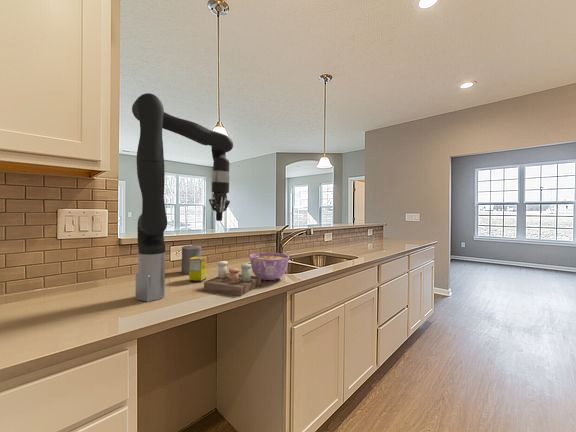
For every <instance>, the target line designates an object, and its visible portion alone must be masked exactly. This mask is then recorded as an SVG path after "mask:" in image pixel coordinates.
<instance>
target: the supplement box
mask: <svg viewBox="0 0 576 432" xmlns="http://www.w3.org/2000/svg"><path fill="white" fill-rule="evenodd" d="M188 278H189V279H188V280H189V282H190V283H191V282H194V283H195V282H196V283H202V282H205V281H206V279H207V256H201V257H193V258H190V259H189V277H188Z"/></svg>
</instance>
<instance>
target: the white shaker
mask: <svg viewBox="0 0 576 432" xmlns="http://www.w3.org/2000/svg"><path fill="white" fill-rule="evenodd" d="M228 263H229V262H228V261H227V260H226V261H225V260H220V261H217V265H218V266H217V267H218V269H217V277H218V278H220V279H224V278H227V273H228Z"/></svg>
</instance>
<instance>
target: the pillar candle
mask: <svg viewBox="0 0 576 432" xmlns="http://www.w3.org/2000/svg"><path fill="white" fill-rule="evenodd" d="M193 257H202V246H201V245H193V244H191V245H184V246H182V247H181V274H183V275H189V259H190V258H193Z"/></svg>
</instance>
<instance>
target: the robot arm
mask: <svg viewBox="0 0 576 432" xmlns="http://www.w3.org/2000/svg"><path fill="white" fill-rule="evenodd" d="M131 112H132V114H133V116H134V119H136V120H137V121H138V122H139V130H140V131H139V141H138V145H137V151H136V172H137V173H136V175H137V181H138V186H139V189H140V192H141V193H140V194H141V199H142V206H141V209H142V210H141V214H140V215H139V217H138V219H137V248H138V249H137V250H138V253H137V254H138V255H137V256H138V257H137V258H138V261H137V263H138V265H137V273H136V274H135V300H137V301H143V302H147V303H148V302H151V301H156V300H159V299H160V300H161V299H163V298H164V297H165V293H166V292H165V291H166V289H165V288H166V286H165V285H166V243H165V238H164V237H165V235H164V234H165V231H166V229H167V226H168V217H167V211H166V205H165V204H166V203H165V177H166V175H165V172H166V171H165V157H164V155H165V154H164V142H163V129H164V130H165V131H166V130H167V131H169V132H172V133H174V134H177V135H180V136H182V137H184V138H187V139H189V140H191V141H194V142H196V143H198V144H200V145H202V146H210V147H211V149H210V150H211V155H212V161H213V165H212V169H213V170H212V176H211V192H212V193H213V194H212V197H211V198H209V199H208V202H209V205H210V207H211V209H212V211H215V220H216V222H217V221H218V222H222V221H223V213H224V212H226V211H227V209H228V207H229V205H230V203H231V201H230V200H228V196H227V194H229V193H230V161H229V159H228V158H227V155H226V154H227V153H229V152H231V151H232V150H233V149H234V142H233V140H232V139H231V138H230V137H229V136H228V135H227V134H224V133H220V132H218V131H214V130H211V129H210V128H207V127H204V126H203V125H201V124H198V123H196V122H193V121H190V120H187V119H184V118H180V117H177V116H173V115H171V114H169V113H167V112H165V111H164V105H163V103H162V100H160V98H159V97H158V96H157V95H155V94H153V93H147V92H146V93H143V94H141V95H140V96H138V97H137V98H136V100H135V101H134V102H133V103H132V107H131Z"/></svg>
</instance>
